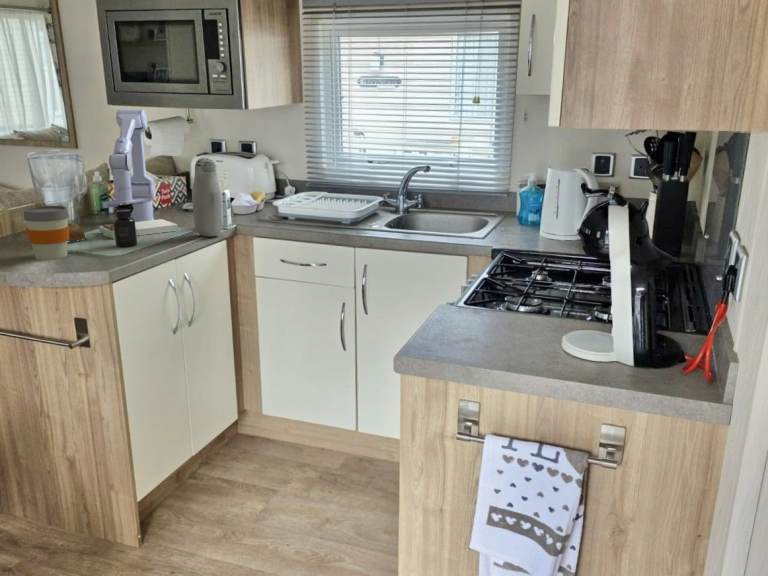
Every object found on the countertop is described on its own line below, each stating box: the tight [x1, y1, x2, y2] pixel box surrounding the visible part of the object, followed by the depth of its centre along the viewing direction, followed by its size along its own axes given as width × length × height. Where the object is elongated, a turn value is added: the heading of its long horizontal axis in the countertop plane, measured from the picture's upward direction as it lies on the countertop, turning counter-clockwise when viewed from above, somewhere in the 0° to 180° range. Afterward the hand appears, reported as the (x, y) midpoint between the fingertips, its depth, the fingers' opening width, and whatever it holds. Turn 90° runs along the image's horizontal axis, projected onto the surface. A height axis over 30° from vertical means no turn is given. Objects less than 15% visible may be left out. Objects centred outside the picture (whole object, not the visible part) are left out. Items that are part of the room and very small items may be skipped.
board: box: [135, 218, 179, 236], centre depth 251 cm, size 14×15×2 cm
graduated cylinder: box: [221, 188, 233, 230], centre depth 255 cm, size 6×6×14 cm
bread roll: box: [68, 222, 86, 242], centre depth 233 cm, size 10×10×8 cm
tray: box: [98, 225, 139, 239], centre depth 243 cm, size 14×9×2 cm, turn 41°
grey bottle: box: [191, 157, 223, 238], centre depth 239 cm, size 10×10×28 cm
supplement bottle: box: [113, 209, 138, 248], centre depth 225 cm, size 7×7×12 cm
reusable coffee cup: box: [23, 205, 70, 261], centre depth 208 cm, size 12×13×15 cm
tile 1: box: [102, 223, 114, 230], centre depth 245 cm, size 4×4×2 cm
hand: (126, 225), depth 241 cm, fingers closed
